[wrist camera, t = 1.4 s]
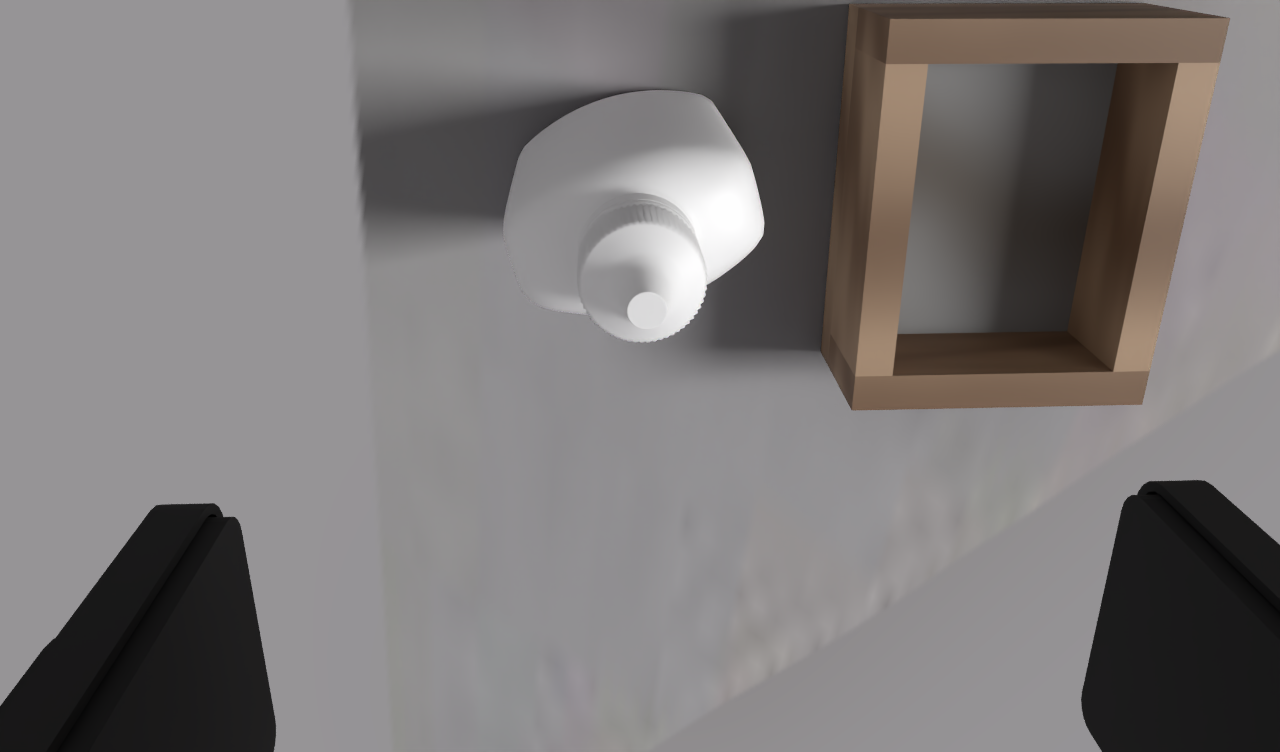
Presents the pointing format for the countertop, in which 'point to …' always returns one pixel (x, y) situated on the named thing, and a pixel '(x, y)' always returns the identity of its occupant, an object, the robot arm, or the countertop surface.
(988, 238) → the bottle holder
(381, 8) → the countertop surface
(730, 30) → the countertop surface
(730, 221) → the eye dropper bottle
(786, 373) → the countertop surface
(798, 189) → the countertop surface
